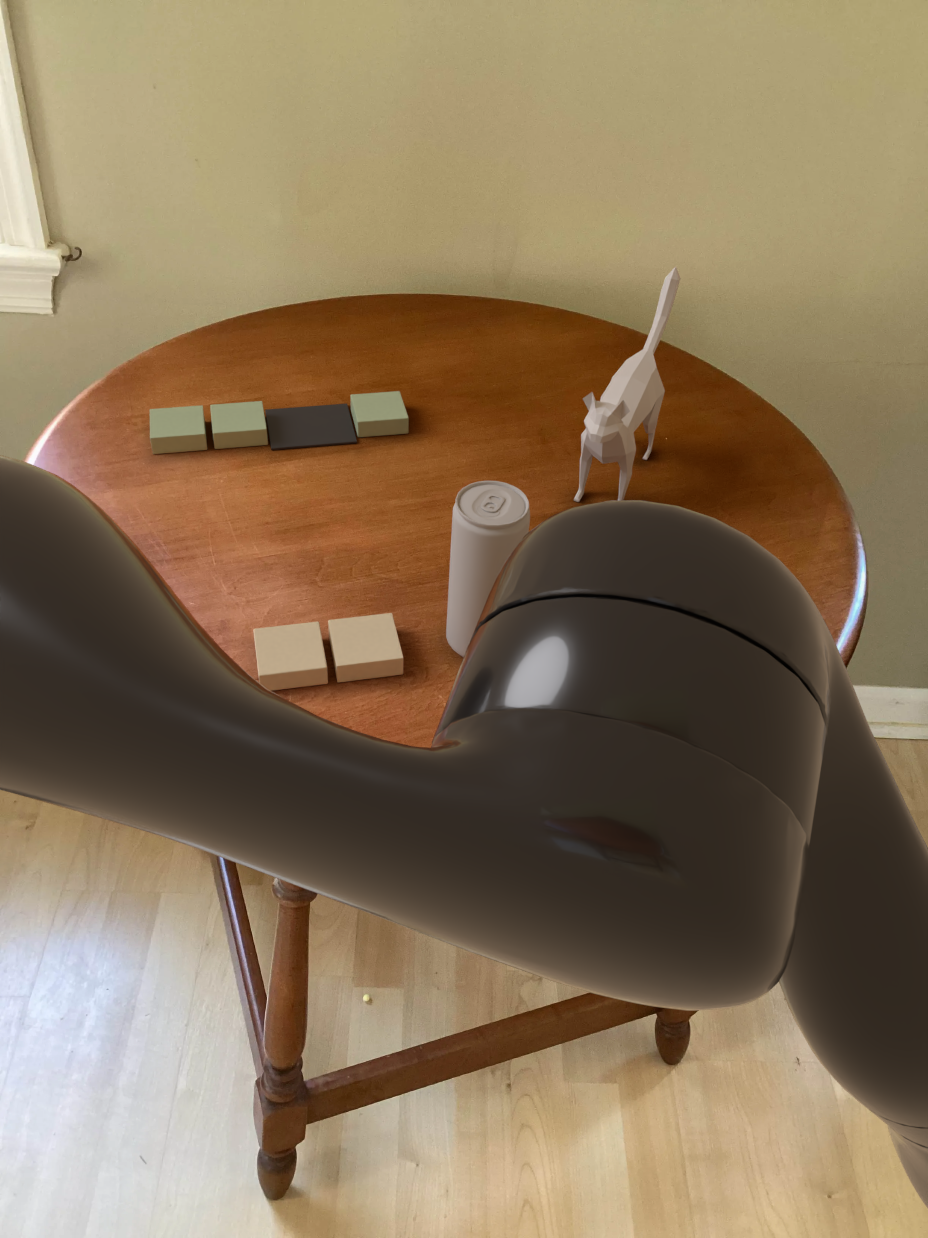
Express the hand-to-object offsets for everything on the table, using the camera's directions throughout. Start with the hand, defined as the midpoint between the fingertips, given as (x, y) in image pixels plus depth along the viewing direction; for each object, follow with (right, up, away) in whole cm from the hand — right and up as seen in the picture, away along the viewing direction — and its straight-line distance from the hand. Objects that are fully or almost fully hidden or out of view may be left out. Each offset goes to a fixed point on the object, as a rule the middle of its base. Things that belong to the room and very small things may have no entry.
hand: (561, 642), depth 62 cm
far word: (-21, +18, +27) cm, 39 cm away
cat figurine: (+7, +14, +25) cm, 30 cm away
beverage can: (-5, 0, +10) cm, 11 cm away
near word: (-9, -1, +9) cm, 12 cm away
